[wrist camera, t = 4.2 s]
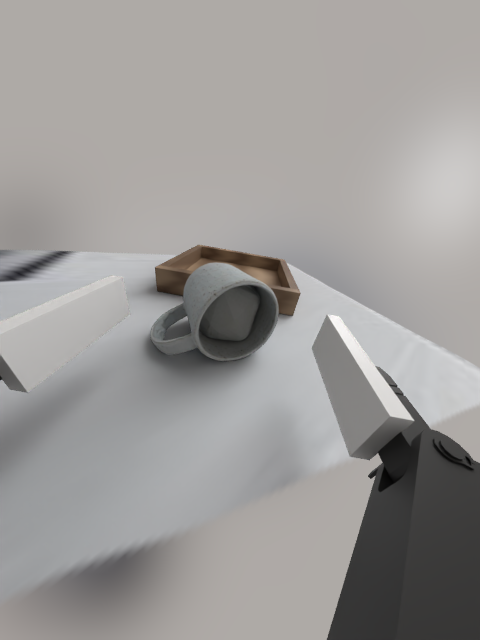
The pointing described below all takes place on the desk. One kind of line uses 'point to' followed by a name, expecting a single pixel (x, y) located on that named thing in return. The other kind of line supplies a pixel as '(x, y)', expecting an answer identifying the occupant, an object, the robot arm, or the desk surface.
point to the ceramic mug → (220, 314)
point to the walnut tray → (259, 267)
